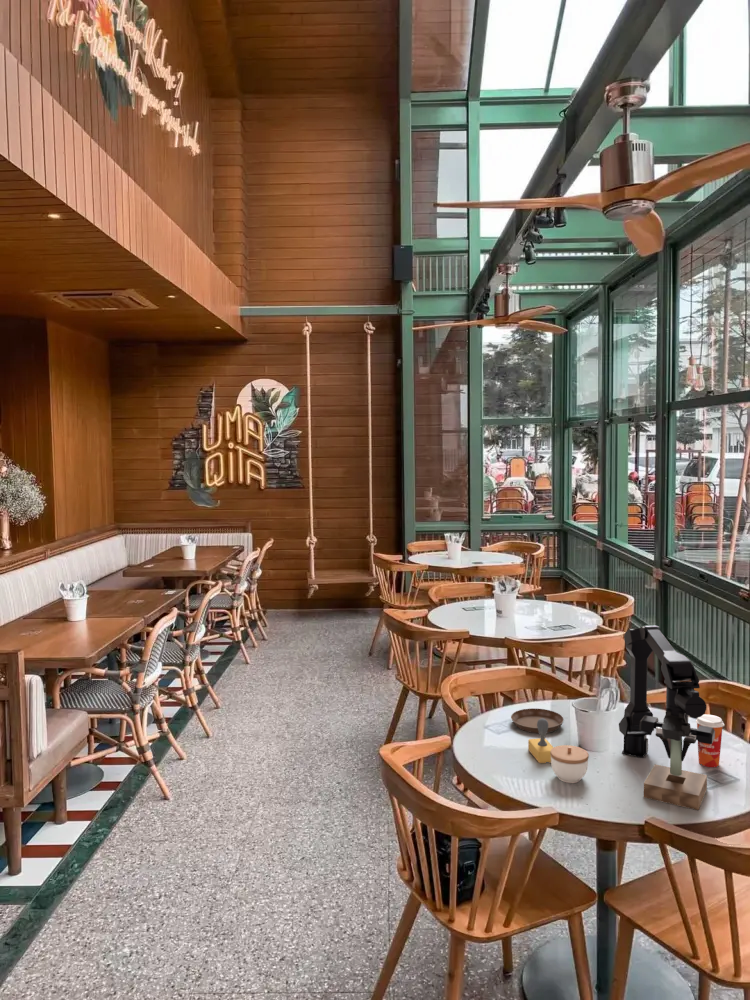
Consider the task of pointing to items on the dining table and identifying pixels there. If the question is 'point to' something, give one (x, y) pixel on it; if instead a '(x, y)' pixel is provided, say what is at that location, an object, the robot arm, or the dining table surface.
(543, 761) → the rubber stamp
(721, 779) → the dining table surface
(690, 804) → the hole block
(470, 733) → the dining table surface
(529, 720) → the plant saucer
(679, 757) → the peg
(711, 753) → the paper cup
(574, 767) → the lidded jar
